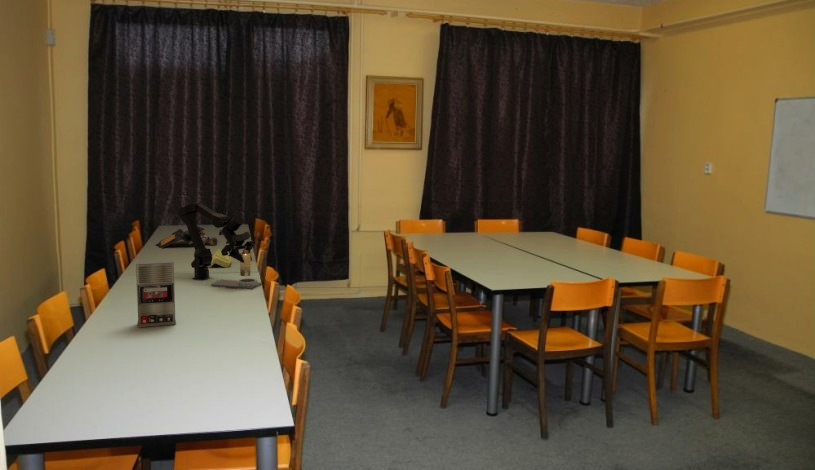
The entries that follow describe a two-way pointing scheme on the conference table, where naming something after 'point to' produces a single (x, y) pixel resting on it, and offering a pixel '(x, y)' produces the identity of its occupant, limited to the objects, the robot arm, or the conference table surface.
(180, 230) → the toolset
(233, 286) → the plate
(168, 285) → the cassette tape recorder
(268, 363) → the conference table surface
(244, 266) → the tan bottle
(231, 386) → the conference table surface
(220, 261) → the plastic component
